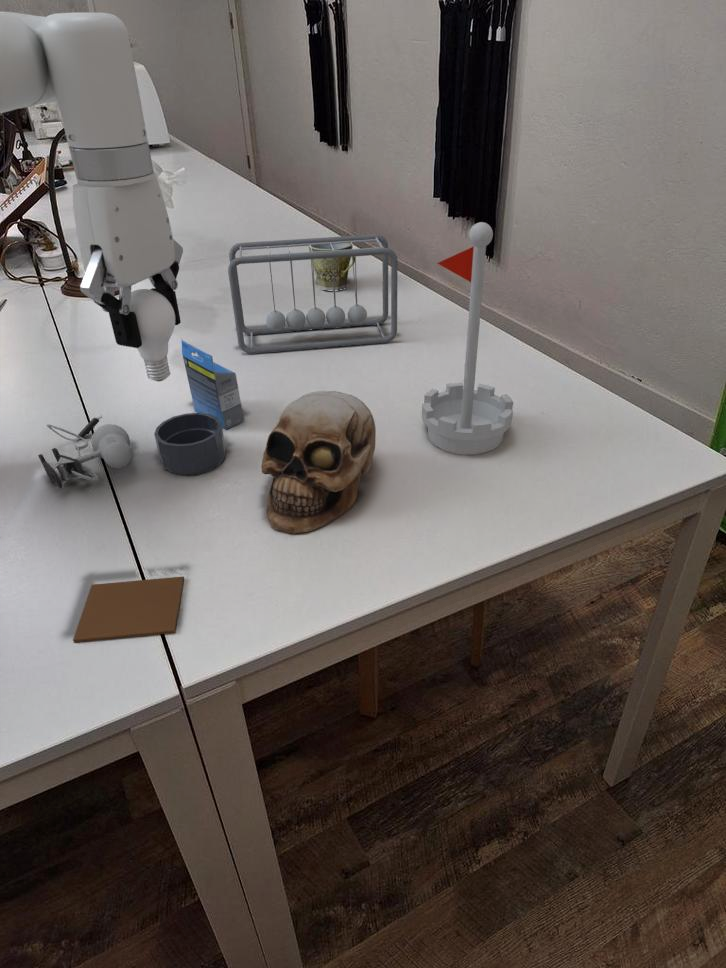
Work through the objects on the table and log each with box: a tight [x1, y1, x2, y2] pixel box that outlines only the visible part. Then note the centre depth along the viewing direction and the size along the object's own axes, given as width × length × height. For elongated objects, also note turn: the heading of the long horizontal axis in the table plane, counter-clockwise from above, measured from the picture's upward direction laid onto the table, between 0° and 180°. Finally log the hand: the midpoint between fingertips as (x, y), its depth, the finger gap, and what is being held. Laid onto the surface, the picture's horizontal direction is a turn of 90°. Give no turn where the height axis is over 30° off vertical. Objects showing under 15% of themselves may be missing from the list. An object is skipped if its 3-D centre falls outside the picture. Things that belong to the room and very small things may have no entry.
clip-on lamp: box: [37, 415, 133, 490], centre depth 91 cm, size 12×6×18 cm
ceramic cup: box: [308, 243, 355, 291], centre depth 149 cm, size 13×10×10 cm
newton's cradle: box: [227, 233, 399, 355], centre depth 123 cm, size 30×10×18 cm, turn 98°
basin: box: [153, 412, 227, 476], centre depth 91 cm, size 9×9×5 cm
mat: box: [72, 576, 185, 644], centre depth 69 cm, size 10×8×1 cm
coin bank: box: [260, 390, 377, 534], centre depth 83 cm, size 16×17×13 cm
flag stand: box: [421, 221, 514, 456], centre depth 88 cm, size 13×13×30 cm
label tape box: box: [180, 338, 245, 430], centre depth 99 cm, size 9×4×12 cm, turn 44°
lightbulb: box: [130, 288, 176, 382], centre depth 76 cm, size 6×6×11 cm
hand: (149, 332), depth 76 cm, fingers closed on lightbulb, 6 cm apart
